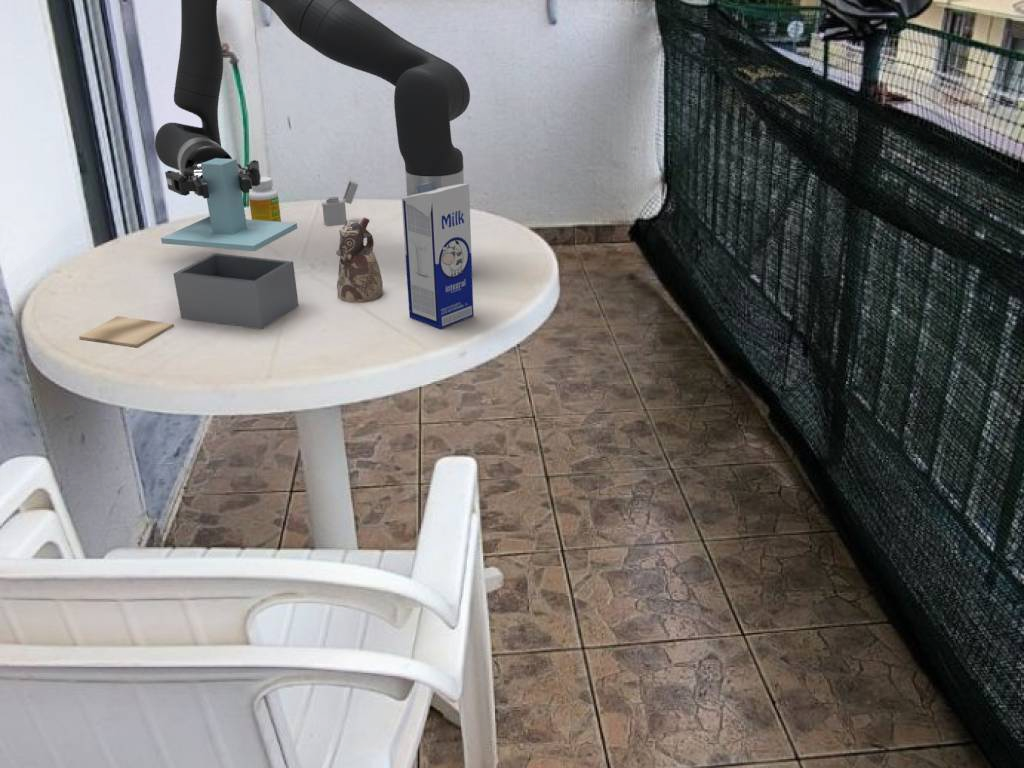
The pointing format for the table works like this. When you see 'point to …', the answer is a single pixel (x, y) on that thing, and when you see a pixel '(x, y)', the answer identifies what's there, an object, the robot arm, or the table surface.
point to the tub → (236, 290)
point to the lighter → (338, 206)
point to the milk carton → (438, 254)
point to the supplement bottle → (264, 201)
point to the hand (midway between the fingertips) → (226, 188)
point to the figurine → (357, 264)
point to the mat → (127, 331)
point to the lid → (227, 215)
